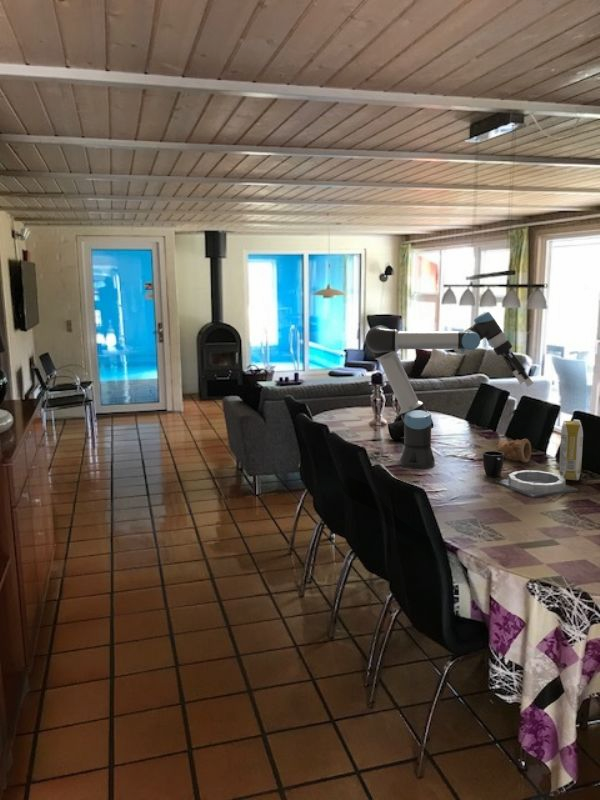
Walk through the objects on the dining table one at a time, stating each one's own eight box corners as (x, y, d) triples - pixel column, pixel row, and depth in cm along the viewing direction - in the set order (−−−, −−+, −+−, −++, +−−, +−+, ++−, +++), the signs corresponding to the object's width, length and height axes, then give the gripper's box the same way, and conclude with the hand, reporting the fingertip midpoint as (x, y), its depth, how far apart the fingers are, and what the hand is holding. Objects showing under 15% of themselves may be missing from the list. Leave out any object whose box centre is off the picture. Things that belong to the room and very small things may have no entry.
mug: (488, 481, 254) (488, 458, 252) (480, 472, 266) (480, 450, 264) (508, 480, 254) (509, 457, 252) (499, 472, 265) (500, 450, 264)
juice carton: (580, 481, 251) (584, 422, 247) (559, 479, 254) (562, 421, 250) (579, 475, 260) (582, 418, 256) (558, 473, 262) (561, 417, 258)
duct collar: (532, 497, 232) (533, 487, 231) (496, 482, 251) (496, 473, 250) (577, 491, 239) (578, 481, 238) (539, 476, 258) (539, 467, 258)
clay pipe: (501, 471, 280) (536, 463, 276) (494, 449, 279) (529, 440, 275) (500, 460, 298) (533, 452, 293) (494, 438, 297) (526, 430, 292)
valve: (398, 429, 305) (383, 415, 335) (405, 456, 309) (389, 441, 338) (440, 416, 307) (421, 403, 336) (447, 443, 310) (428, 429, 339)
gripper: (513, 339, 265) (541, 381, 266) (501, 338, 290) (527, 376, 291) (498, 349, 266) (526, 391, 267) (487, 347, 291) (513, 385, 292)
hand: (526, 383), depth 279 cm, fingers open, 13 cm apart
